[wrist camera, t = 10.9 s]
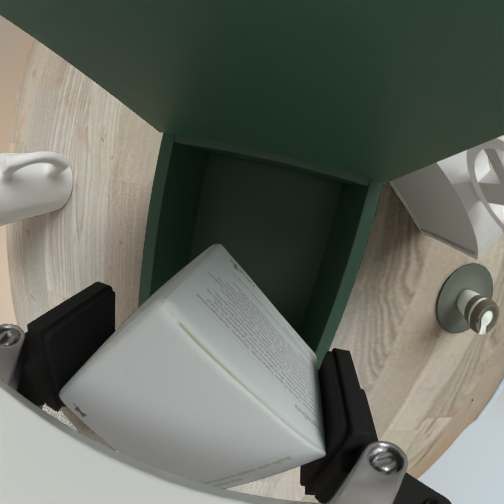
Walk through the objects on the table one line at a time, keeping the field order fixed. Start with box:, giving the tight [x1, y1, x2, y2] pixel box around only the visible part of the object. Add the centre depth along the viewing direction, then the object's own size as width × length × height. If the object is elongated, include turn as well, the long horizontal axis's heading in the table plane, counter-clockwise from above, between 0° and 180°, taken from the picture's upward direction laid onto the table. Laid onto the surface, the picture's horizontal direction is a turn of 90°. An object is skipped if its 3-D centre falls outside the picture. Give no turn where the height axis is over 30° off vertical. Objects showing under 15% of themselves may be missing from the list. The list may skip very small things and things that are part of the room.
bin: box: [138, 133, 383, 370], centre depth 21 cm, size 16×13×9 cm
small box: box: [59, 244, 326, 489], centre depth 8 cm, size 6×6×5 cm
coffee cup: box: [437, 263, 499, 335], centre depth 22 cm, size 12×12×5 cm
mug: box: [0, 152, 73, 226], centre depth 20 cm, size 10×7×12 cm, turn 108°
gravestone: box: [389, 135, 504, 260], centre depth 14 cm, size 3×9×18 cm, turn 40°
